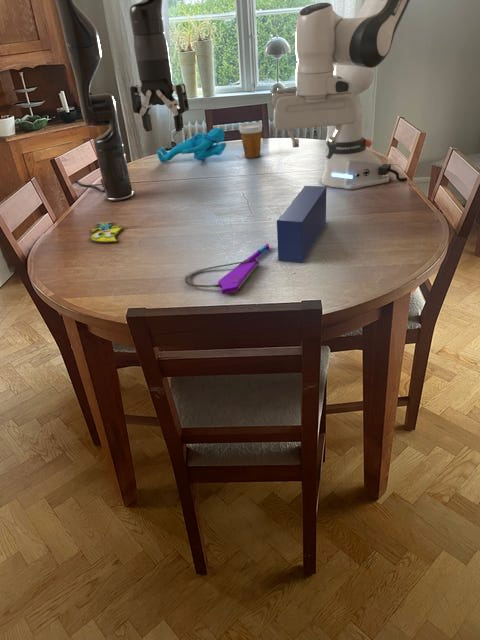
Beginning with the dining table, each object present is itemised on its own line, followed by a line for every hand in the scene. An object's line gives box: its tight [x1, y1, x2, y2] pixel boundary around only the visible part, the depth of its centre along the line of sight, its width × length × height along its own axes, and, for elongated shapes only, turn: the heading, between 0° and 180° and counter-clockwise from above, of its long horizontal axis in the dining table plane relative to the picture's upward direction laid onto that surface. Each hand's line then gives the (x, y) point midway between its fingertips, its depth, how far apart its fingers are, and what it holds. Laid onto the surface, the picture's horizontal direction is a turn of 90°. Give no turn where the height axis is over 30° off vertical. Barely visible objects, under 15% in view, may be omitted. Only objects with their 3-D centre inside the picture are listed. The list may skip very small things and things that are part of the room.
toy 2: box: [156, 127, 227, 163], centre depth 201 cm, size 17×11×30 cm
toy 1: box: [90, 221, 124, 244], centre depth 141 cm, size 10×1×15 cm
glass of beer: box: [239, 123, 263, 159], centre depth 199 cm, size 10×10×12 cm
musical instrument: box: [184, 243, 270, 295], centre depth 114 cm, size 24×2×20 cm
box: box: [276, 185, 328, 264], centre depth 123 cm, size 26×6×10 cm, turn 159°
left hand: (164, 131), depth 119 cm, fingers open, 8 cm apart
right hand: (314, 145), depth 121 cm, fingers open, 8 cm apart
